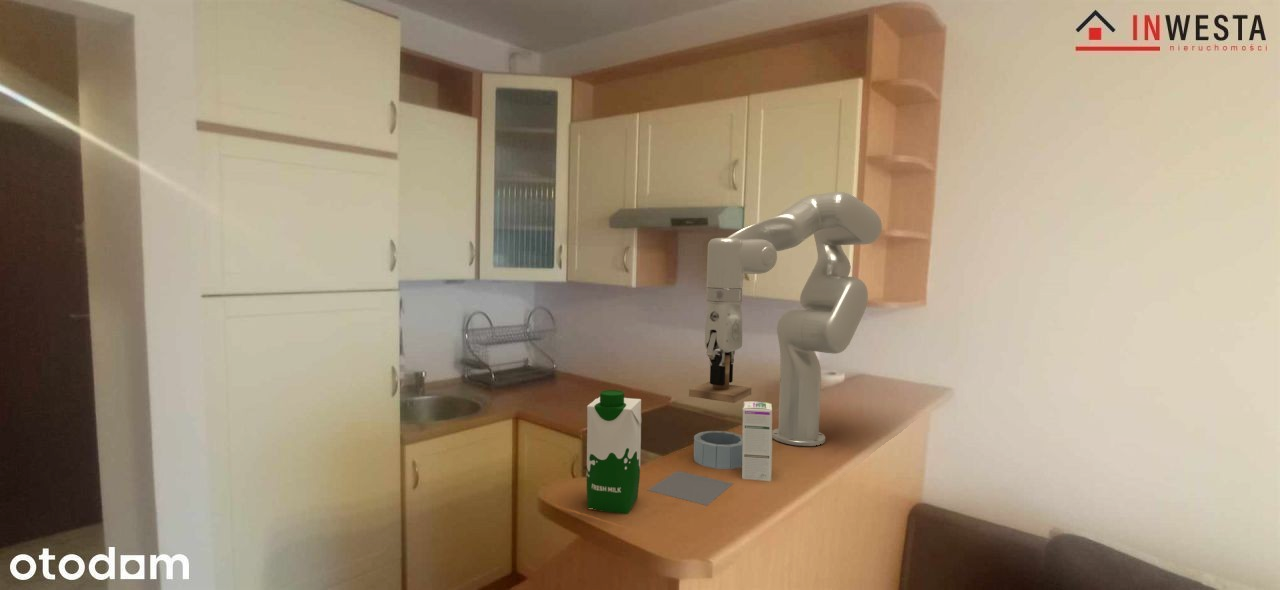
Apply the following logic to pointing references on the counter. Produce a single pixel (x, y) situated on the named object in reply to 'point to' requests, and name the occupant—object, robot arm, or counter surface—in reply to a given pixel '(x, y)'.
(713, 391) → the lid
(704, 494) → the mat
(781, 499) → the counter surface
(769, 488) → the counter surface
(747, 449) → the syrup box
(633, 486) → the milk carton
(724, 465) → the bowl
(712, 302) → the robot arm
